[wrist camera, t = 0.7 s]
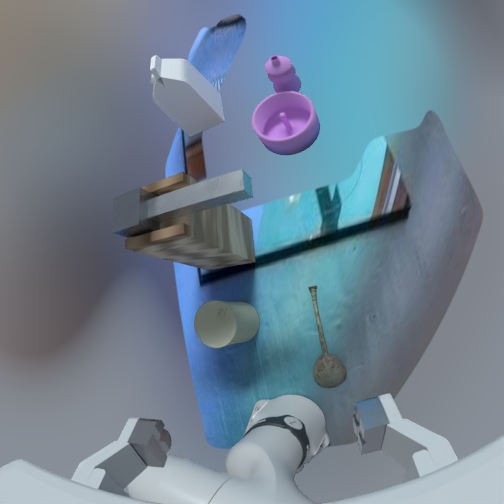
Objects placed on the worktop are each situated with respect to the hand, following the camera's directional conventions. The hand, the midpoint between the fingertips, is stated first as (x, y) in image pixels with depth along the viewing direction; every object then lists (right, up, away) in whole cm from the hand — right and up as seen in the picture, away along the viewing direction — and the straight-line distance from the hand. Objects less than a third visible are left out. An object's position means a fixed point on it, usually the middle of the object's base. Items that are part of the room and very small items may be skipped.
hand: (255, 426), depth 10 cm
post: (-5, +9, +57) cm, 58 cm away
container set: (+10, +42, +58) cm, 72 cm away
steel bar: (-10, +14, +33) cm, 37 cm away
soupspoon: (+15, -10, +46) cm, 49 cm away
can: (-3, -8, +53) cm, 54 cm away
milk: (-14, +48, +69) cm, 85 cm away
